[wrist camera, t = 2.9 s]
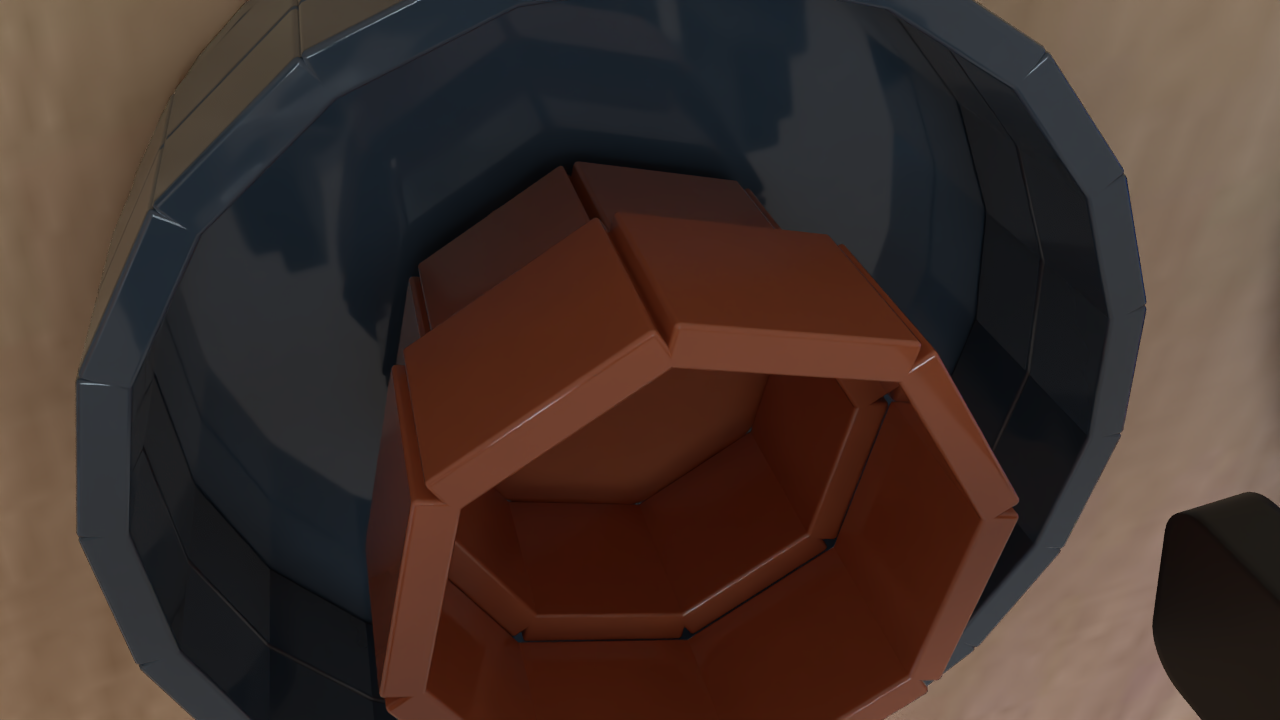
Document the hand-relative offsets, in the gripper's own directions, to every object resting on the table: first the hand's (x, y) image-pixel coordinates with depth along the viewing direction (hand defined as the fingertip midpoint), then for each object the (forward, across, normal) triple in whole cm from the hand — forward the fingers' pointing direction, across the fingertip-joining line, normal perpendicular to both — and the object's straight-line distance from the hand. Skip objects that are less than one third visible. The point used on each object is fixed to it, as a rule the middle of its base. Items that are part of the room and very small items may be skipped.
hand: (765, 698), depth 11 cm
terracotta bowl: (+6, 0, 0) cm, 6 cm away
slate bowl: (+7, 0, 0) cm, 7 cm away
